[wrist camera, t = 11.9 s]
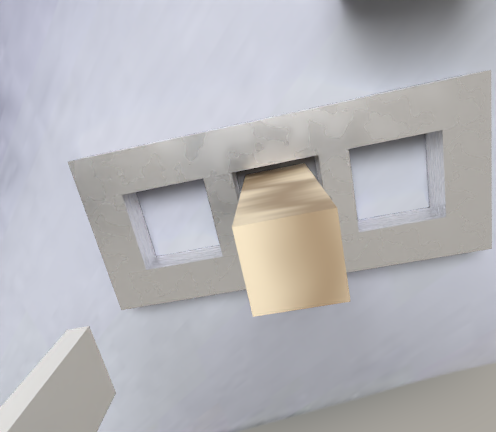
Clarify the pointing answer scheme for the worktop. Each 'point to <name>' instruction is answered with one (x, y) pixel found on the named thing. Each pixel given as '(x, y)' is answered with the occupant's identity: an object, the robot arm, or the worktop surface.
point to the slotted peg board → (329, 176)
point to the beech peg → (289, 242)
